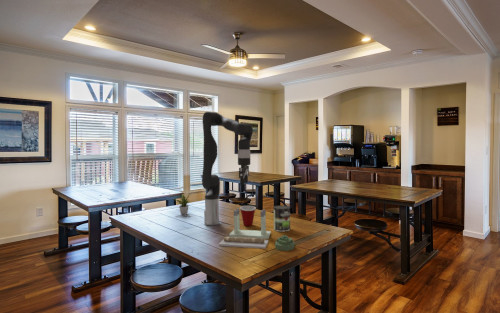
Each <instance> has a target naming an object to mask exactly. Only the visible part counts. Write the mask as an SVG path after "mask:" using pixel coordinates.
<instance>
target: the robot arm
mask: <svg viewBox="0 0 500 313" xmlns="http://www.w3.org/2000/svg"><path fill="white" fill-rule="evenodd" d="M212 127H223V128H224V129H225V130H228V131H230V132H233V133H234V134H236V135H237V136H242V138H241V139H239V140H238V143H237V144H238V146H237V148H238V149H237V150H238V151H237V165H239V166H240V167H239V168H238V178H239V180H240V181H239V182H240V183H239V184H240V186H245V184H248V183H249V182H248V181H249V176H250V165H251V140H252V137H253V126H252V124H250V123H244V122H243V123H242V122H239V121H238V120H235V119H232V118H227V117H225V116H224V115H222V114H220V113H218V112H215V111H205V112H204V113H203V114H202V131H203V150H202V151H203V164H202V165H203V166H202V175H201V176H202V177H201V185H202V187H203V189H205V190H208V192H207V193H205V195H204V205H205V206H204V208H205V209H203V210H204V212H203V213H204V214H203V215H204V216H203V217H204V225H206V226H216V225H217V226H218V225H220V201H219V198H220V197H219V196H220V192H221V191H220V190H221V181H220V177H219V176H218V175H216V174H213V173H212V172H213V170H212V169H213V167H214V164H215V162H216V160H217V158H218V144H217V142H216V139H215V137H214V136H213V133H212Z"/></svg>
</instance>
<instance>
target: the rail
mask: <svg viewBox="0 0 500 313" xmlns="http://www.w3.org/2000/svg"><path fill="white" fill-rule="evenodd" d="M223 239H224V241H231V242H249V243H264V242H265V240H266V239H262V238H242V237H229V236H224V237H223Z"/></svg>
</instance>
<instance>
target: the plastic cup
mask: <svg viewBox="0 0 500 313" xmlns="http://www.w3.org/2000/svg"><path fill="white" fill-rule="evenodd" d="M256 209H257V207H256V206H254V205H242V206H240V207H239V211H240V213H241V218H242V223H243V226H244V227H252V226H253V224H254V216H255V212H256Z"/></svg>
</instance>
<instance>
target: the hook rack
mask: <svg viewBox="0 0 500 313" xmlns="http://www.w3.org/2000/svg"><path fill="white" fill-rule="evenodd" d="M266 214H267V213H266V209H261V211H260V230H254V229H253V230H252V229H240V208H235V209H234V210H233V230H232V231H231V232H230V233H228V237H242V238H262V239H265V240H269V238H270V237H271V233H272V231H270V230H267V225H266V224H267V220H266V219H267V218H266Z"/></svg>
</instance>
